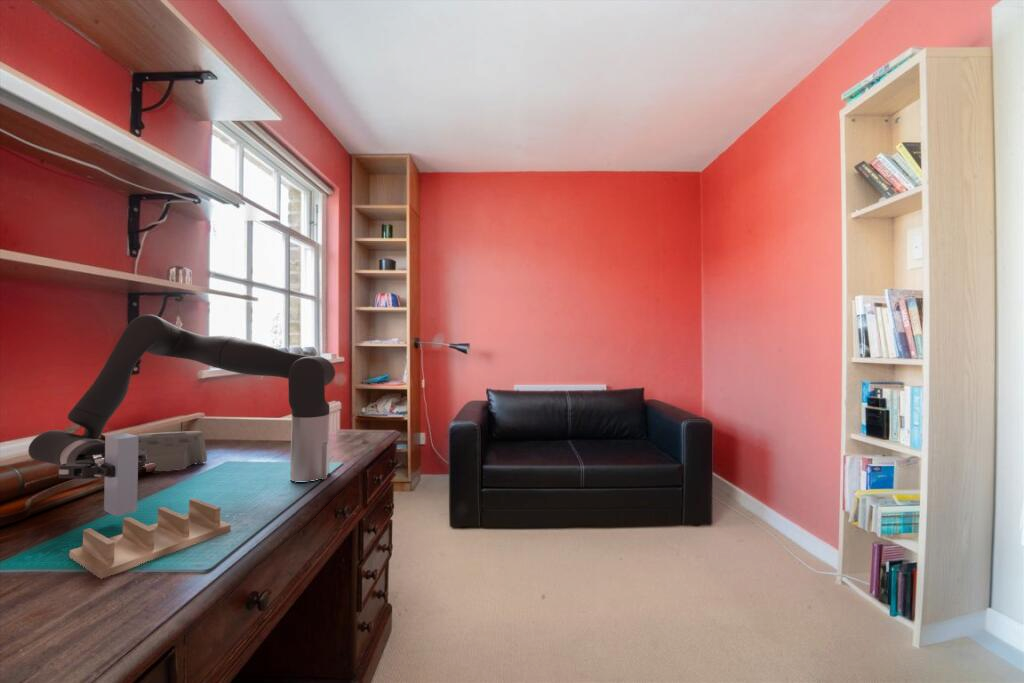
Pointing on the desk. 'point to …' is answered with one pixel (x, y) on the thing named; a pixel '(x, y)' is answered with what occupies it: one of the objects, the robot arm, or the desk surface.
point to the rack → (148, 539)
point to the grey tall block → (121, 474)
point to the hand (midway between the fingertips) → (125, 469)
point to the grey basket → (173, 449)
